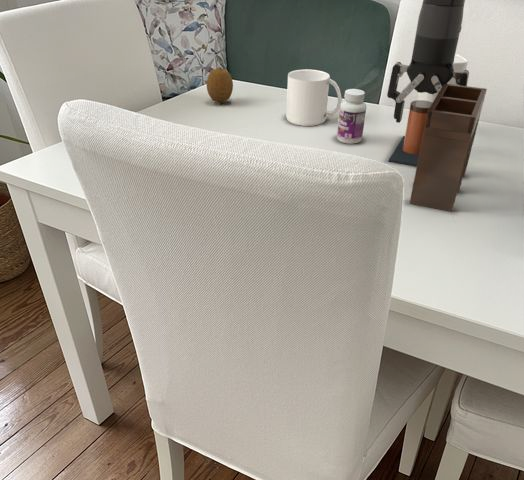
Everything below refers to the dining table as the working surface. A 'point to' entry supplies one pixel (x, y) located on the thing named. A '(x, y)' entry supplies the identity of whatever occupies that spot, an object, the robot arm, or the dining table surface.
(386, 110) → the dining table surface
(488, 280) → the dining table surface
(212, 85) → the fruit
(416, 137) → the spice jar
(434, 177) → the rack
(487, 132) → the dining table surface
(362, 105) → the pill bottle
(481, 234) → the dining table surface
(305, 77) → the mug
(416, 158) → the mat
